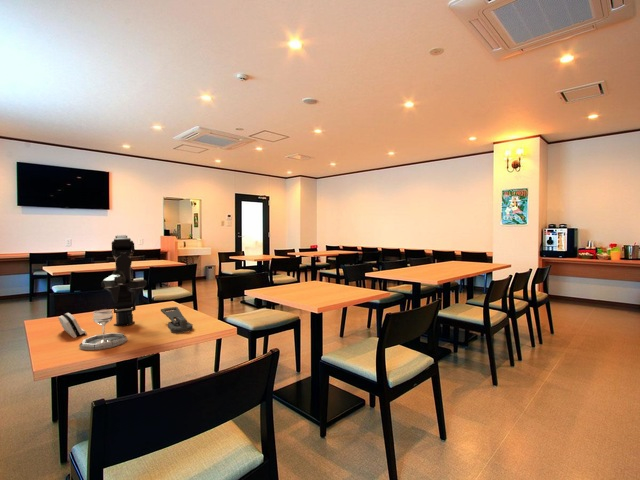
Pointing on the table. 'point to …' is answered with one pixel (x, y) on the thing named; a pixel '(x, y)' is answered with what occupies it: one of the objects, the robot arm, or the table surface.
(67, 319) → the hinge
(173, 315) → the zipper pull
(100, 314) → the wineglass
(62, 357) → the table surface
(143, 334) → the table surface
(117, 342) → the rosette plate
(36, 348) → the table surface
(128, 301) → the robot arm
